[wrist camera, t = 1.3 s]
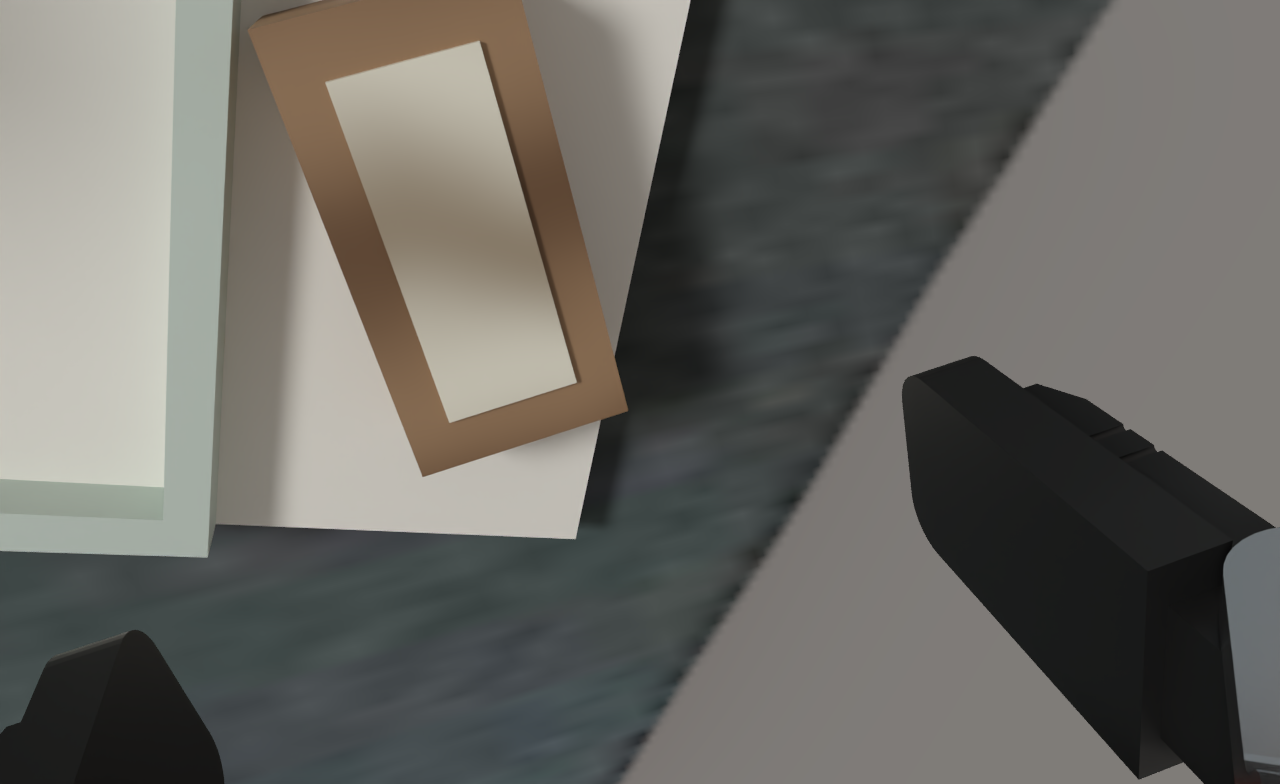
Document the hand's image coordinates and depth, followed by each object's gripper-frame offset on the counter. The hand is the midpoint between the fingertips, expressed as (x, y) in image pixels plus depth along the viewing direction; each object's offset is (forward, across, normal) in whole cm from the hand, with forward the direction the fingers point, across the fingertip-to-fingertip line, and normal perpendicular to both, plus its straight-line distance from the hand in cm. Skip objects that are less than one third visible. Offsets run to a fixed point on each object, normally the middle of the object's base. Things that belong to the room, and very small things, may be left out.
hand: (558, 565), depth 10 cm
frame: (+15, 0, 0) cm, 15 cm away
